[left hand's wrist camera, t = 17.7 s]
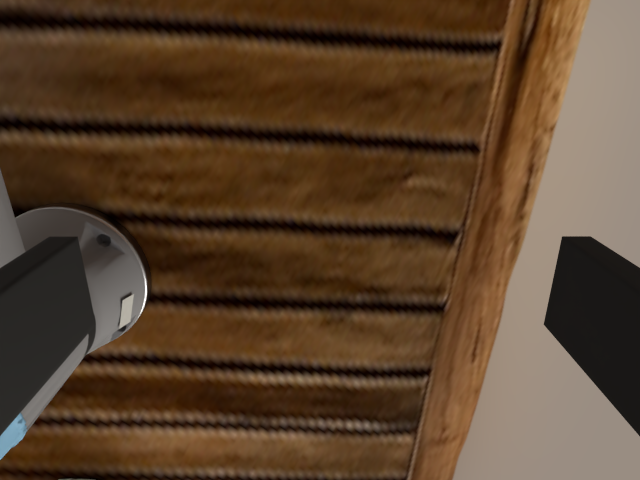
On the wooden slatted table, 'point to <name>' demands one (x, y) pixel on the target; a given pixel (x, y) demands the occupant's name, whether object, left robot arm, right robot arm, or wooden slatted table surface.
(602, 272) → the left robot arm
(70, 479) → the fossil
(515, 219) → the wooden slatted table surface
